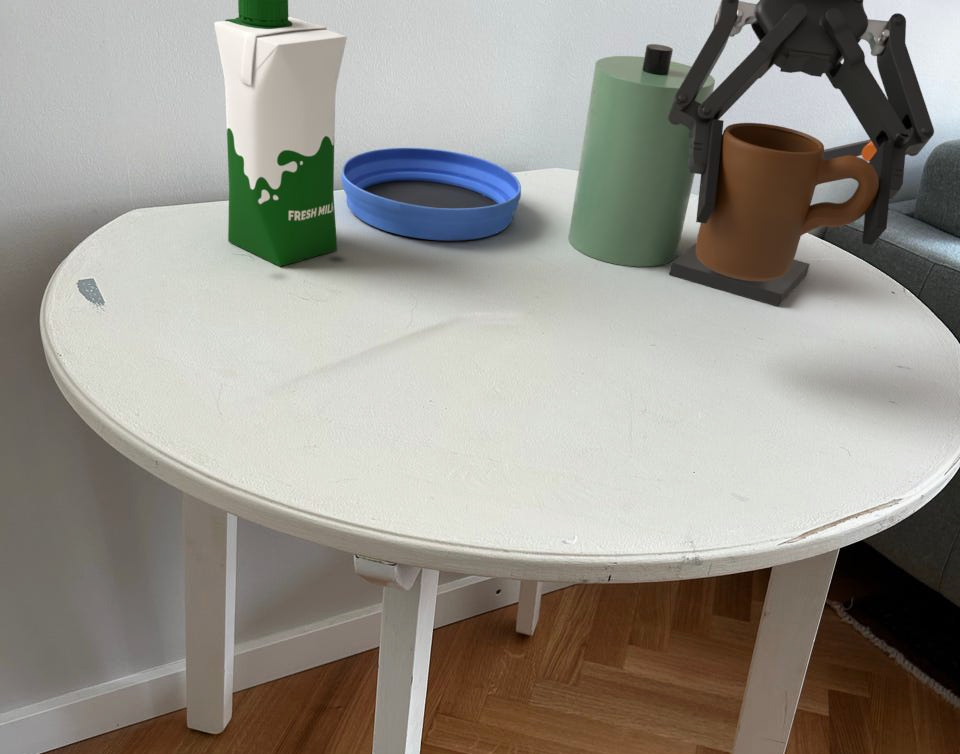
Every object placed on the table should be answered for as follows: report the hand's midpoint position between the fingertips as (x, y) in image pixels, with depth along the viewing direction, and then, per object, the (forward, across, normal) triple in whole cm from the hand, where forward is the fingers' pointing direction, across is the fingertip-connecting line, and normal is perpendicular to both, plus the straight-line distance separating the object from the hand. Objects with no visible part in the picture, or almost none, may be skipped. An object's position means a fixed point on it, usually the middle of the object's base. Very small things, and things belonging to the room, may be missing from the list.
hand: (789, 225), depth 81 cm
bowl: (-13, +28, -32) cm, 44 cm away
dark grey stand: (-8, -3, -27) cm, 28 cm away
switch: (-15, -7, -18) cm, 24 cm away
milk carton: (-3, +41, -22) cm, 46 cm away
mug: (+1, 0, -5) cm, 5 cm away
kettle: (-11, +7, -29) cm, 32 cm away
